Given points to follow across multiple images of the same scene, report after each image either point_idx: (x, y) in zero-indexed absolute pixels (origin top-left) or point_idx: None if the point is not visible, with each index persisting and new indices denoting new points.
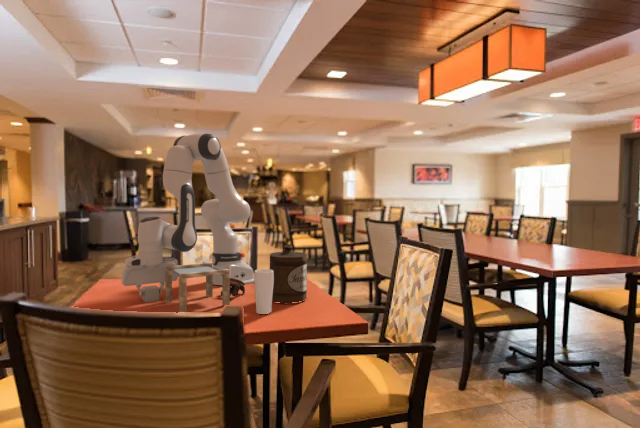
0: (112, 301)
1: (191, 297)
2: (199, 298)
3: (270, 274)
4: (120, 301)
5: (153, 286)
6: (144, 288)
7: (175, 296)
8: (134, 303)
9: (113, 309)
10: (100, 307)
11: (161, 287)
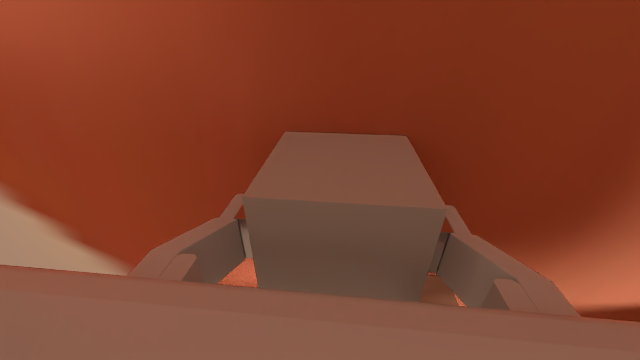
0: (31, 47)
1: (629, 274)
2: (635, 317)
3: None
4: (106, 90)
5: (385, 256)
6: (259, 286)
7: (575, 182)
8: (220, 210)
9: (115, 261)
10: (19, 188)
11: (459, 295)
